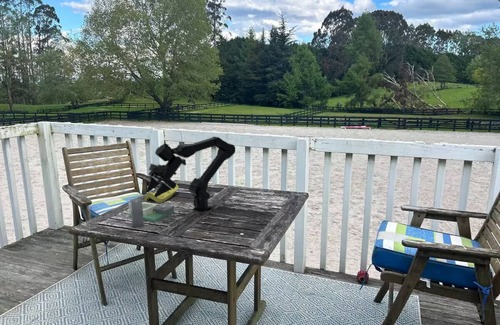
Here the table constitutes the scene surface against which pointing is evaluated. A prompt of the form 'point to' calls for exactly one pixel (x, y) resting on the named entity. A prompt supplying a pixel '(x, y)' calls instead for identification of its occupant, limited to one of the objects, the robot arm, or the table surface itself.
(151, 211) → the header board
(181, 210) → the table surface
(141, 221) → the plug
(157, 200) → the plastic component
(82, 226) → the table surface
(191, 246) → the table surface
